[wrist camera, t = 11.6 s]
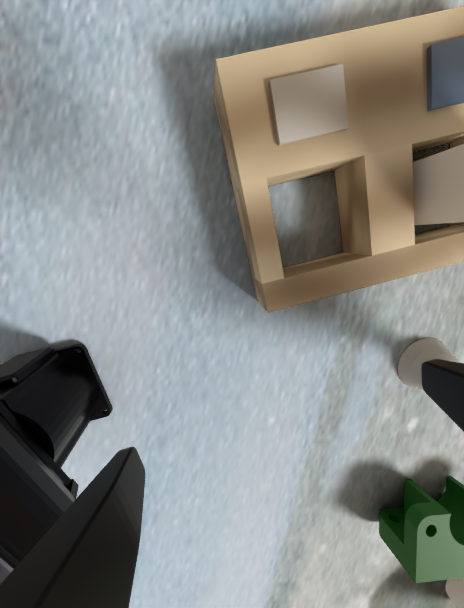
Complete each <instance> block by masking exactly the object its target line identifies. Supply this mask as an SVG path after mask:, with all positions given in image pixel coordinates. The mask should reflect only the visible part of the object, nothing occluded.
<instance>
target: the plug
mask: <svg viewBox="0 0 464 608" xmlns="http://www.w3.org/2000/svg"><path fill="white" fill-rule="evenodd" d="M413 194H414V225H426V224H442V223H459V222H464V144H462V145H459V146H456V147H454V148H451V149H448V150H445V151H442V152H440V153H437V154H434V155H431V156H429V157H426V158H423V159H420V160H418V161H415V162H413Z"/></svg>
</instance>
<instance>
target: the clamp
mask: <svg viewBox="0 0 464 608" xmlns="http://www.w3.org/2000/svg"><path fill="white" fill-rule="evenodd" d="M379 534H380V536H381V538H382V539H383V541H384V542H385V543H386V545H387V546H388V547H389V549H390V550H391V551H392V553H393V554H394V555H395V557H396V558H397V559H398V561H399V562H400V563H401V564H402V566H403V567H404V568H405V570H406V571H407V572H408V574H409V575H410V576H411V578H412V579H413V580H414V582H415V583H423V582H431V581H439V580H448V579H456V578H464V485H463V484H461V483H460V482H459V481H457V480H456V479H454V478H453V477H451V476H449V477H447V485H446V490H445V492H444V494H443V496H442V497H441V498H440V500H439V501H435V500H434V499H433V498H432V497H431V496H429V495H428V494H427V493H426V492H425V491H424V490H422V489H421V488H420V487H419V486H418V485H417V484H415V483H414V482H413V481H412V480H411V479H405V485H404V507H398V508H386V509H381V510H380V520H379Z"/></svg>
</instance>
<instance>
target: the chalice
mask: <svg viewBox="0 0 464 608" xmlns="http://www.w3.org/2000/svg"><path fill="white" fill-rule="evenodd" d="M432 359H442V360H447V361H453V362H458V363H459V361H458V359H457V358H456V357H455V356H454V355H453V354H452V353H451V351H450V350H449V349H447V348H446V346H445V345H444V344H443V342H441V341H439V340H438V339H435V338H424V339H420V340H418V341H416V342H414V343H412V344H411V345H410V346H409V347H408V348H407V349H406V350H405V351H404V352H403V354H402V355H401V357H400V360H399V363H398V374H399V377H400V379H401V380H402V381H403V383H404V384H406V385H408V386H410V387H418V388H420V389H423V387H422V378H421V365H422V363H423V362H425V361H429V360H432Z"/></svg>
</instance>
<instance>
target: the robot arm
mask: <svg viewBox="0 0 464 608" xmlns="http://www.w3.org/2000/svg"><path fill="white" fill-rule="evenodd" d="M77 349H79V350H80V351H81V353H79V352H77ZM421 378H422V387H423V389H424V391H425V392H426V394H427V395H428V396H429V397H430V398H431V399H432V400H433V401H434V402H435V403H436V404H437V405H438V406H439V407H440V408H441V409H442V410H443V411H444V412H445V413H446V414H447V415H448V416H449V417H450V418H451V419H452V420H453V421H454V422H455V423H456V424H457V425H458V426H459V427H460V428H461V429H462V430H463V431H464V364H463V363H458V362H453V361H447V360H442V359H432V360H429V361H425V362H423V363H422V365H421ZM103 409H107V411H105V410H103ZM112 409H113V408H112V405H111V403H110V401H109V398H108V396H107V394H106V391H105V389H104V387H103V385H102V382H101V380H100V378H99V375H98V373H97V371H96V369H95V366H94V364H93V362H92V360H91V357H90V355H89V353H88V350H87V348H86V347H85V346H84V345H83V344H75V345H72V346H68V347H64V348H60V349H56V350H54V349H53V348H50V347H48V348H44V349H40V350H36V351H33V352H29V353H25V354H21V355H17V356H15V357H14V358H12V359H11V360H9V361H8V362H6V363H3V364H2V365H0V608H129V602H130V596H131V590H132V585H133V579H134V573H135V567H136V561H137V555H138V549H139V543H140V534H141V523H142V511H143V498H144V486H145V469H144V466H143V463H142V461H141V459H140V457H139V454H138V452H137V450H136V448H135V447H129V448H126V449H122V450H120V451H119V452H118V453H117V454H116V455H115V456H114V457H113V458H112V459H111V460H110V462H109V463H108V464H107V465H106V466H105V467H104V468H103V469H102V471H101V472H100V473H99V474H98V475H97V476H96V477H95V478H94V480H93V481H92V482H91V483H90V484H89V485H88V486H87V487H86V489H85V490H84V491H83V492H82V493H81V494H80V495H79V496H78V498H77V499H76V496H77V491H78V484H77V483H76V482H75V481H74V479H70V478H69V477H68V476H67V475H66V474H65V473H64V472H63V470H62V469H61V467H62V465H63V464H64V462H65V460H66V459H67V457H68V456H69V454H70V452H71V451H72V449H73V448H74V446H75V444H76V443H77V441H78V440H79V438H80V436H81V435H82V433H83V431H84V430H85V428H86V427H87V425H88V423H89V422H90V421H92V420H96V419H99V418H103V417H107V416H109V415H110V413H111V412H112Z"/></svg>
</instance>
